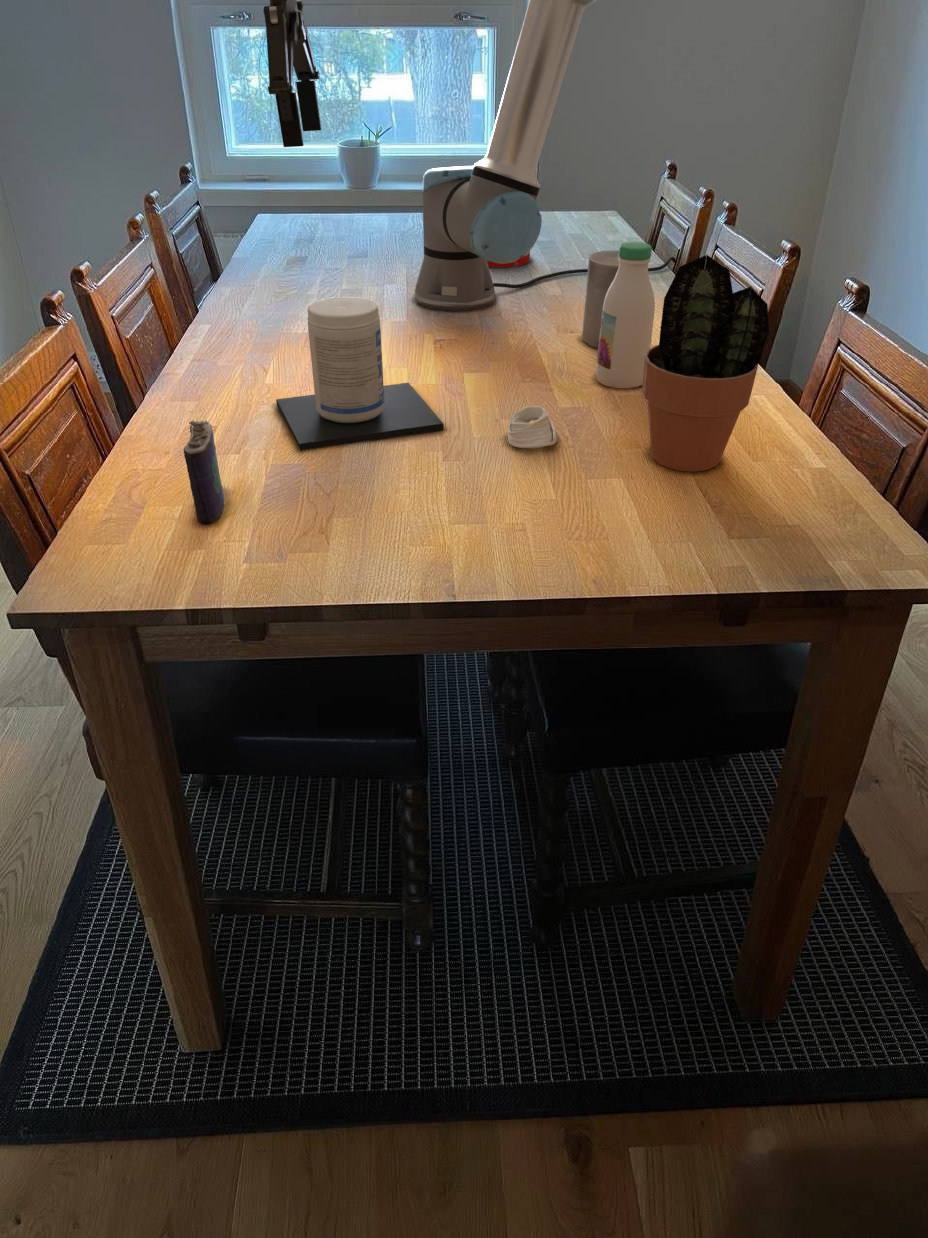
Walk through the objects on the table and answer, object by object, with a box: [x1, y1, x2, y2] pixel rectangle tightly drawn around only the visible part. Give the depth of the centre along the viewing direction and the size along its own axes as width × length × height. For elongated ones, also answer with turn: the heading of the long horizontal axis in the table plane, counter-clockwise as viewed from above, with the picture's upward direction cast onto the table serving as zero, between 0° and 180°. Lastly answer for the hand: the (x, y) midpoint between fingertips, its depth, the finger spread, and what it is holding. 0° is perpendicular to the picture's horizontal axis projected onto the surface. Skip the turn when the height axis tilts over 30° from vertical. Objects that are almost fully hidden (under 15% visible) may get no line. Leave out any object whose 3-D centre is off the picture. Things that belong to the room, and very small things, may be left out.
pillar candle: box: [581, 249, 619, 349], centre depth 152 cm, size 10×10×15 cm
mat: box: [275, 382, 444, 452], centre depth 129 cm, size 20×16×1 cm
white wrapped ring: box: [507, 405, 558, 449], centre depth 122 cm, size 8×7×5 cm
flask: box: [183, 419, 225, 526], centre depth 104 cm, size 9×3×11 cm, turn 8°
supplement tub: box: [306, 296, 385, 423], centre depth 124 cm, size 10×10×15 cm
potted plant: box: [641, 254, 770, 473], centre depth 112 cm, size 14×14×25 cm
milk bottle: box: [595, 241, 656, 389], centre depth 136 cm, size 8×8×20 cm
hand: (303, 138), depth 134 cm, fingers open, 13 cm apart
